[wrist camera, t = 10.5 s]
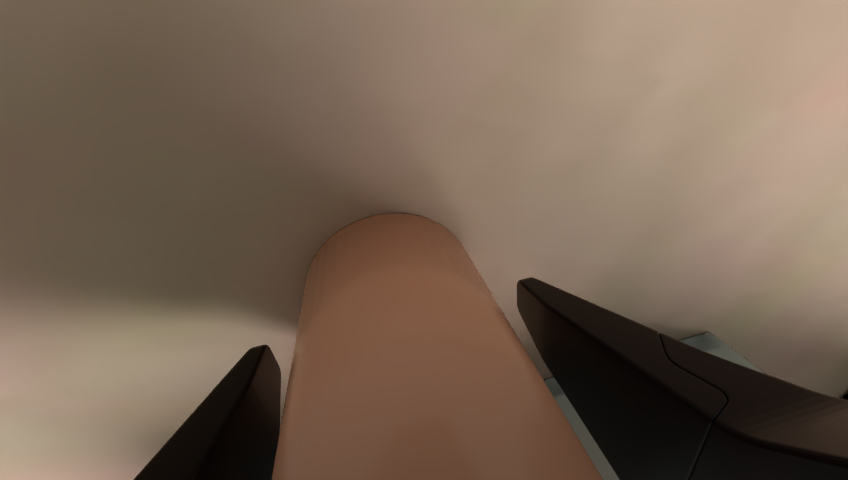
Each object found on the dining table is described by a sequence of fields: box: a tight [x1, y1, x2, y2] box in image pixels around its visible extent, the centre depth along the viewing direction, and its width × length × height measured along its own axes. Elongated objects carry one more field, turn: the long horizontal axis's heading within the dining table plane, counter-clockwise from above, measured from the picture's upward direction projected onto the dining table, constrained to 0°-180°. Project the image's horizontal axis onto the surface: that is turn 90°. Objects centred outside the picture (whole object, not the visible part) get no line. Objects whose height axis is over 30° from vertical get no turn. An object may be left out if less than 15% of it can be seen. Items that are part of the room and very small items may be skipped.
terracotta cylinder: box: [272, 213, 603, 480], centre depth 8 cm, size 5×5×7 cm
